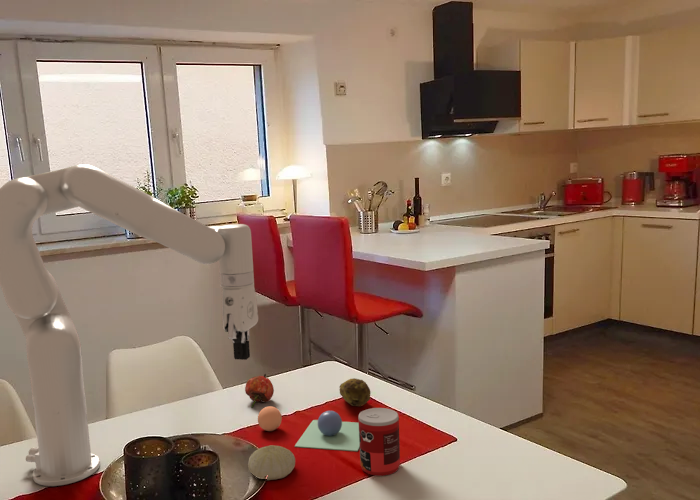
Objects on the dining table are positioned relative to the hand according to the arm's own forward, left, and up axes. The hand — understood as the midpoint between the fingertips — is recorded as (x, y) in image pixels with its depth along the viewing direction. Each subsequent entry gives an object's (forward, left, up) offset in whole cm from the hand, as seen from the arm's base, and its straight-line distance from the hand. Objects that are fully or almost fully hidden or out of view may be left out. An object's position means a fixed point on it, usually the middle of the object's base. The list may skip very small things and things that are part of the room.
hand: (242, 358), depth 145 cm
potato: (+22, +17, -17) cm, 33 cm away
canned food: (+34, -13, -17) cm, 40 cm away
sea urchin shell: (+13, -18, -18) cm, 28 cm away
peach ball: (+6, +1, -14) cm, 15 cm away
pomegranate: (-3, +16, -17) cm, 24 cm away
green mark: (+21, 0, -17) cm, 27 cm away
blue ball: (+20, 0, -14) cm, 25 cm away
